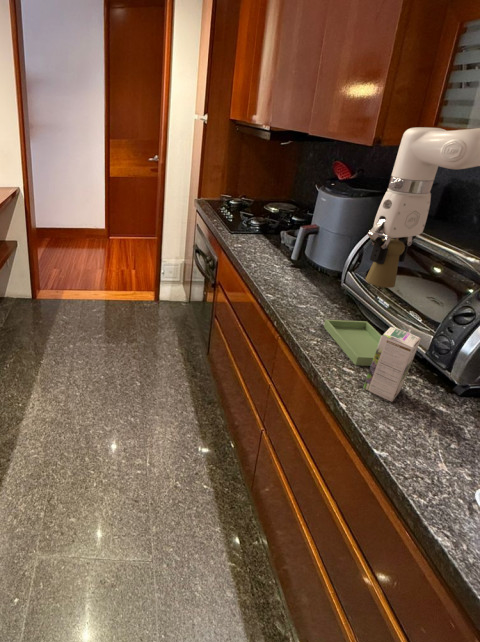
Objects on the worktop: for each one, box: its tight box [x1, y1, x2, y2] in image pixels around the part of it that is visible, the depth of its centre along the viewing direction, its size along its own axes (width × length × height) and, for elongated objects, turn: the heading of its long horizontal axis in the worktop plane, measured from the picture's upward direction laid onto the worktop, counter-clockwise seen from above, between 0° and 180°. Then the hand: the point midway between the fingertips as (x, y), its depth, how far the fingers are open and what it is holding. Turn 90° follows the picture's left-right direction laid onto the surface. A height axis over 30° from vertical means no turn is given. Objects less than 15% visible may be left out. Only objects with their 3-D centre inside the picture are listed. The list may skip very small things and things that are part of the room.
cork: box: [364, 238, 405, 289], centre depth 93 cm, size 6×6×11 cm
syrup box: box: [362, 326, 422, 403], centre depth 84 cm, size 6×6×14 cm
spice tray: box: [323, 319, 383, 367], centre depth 102 cm, size 17×11×2 cm, turn 175°
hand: (386, 260), depth 93 cm, fingers closed on cork, 5 cm apart
